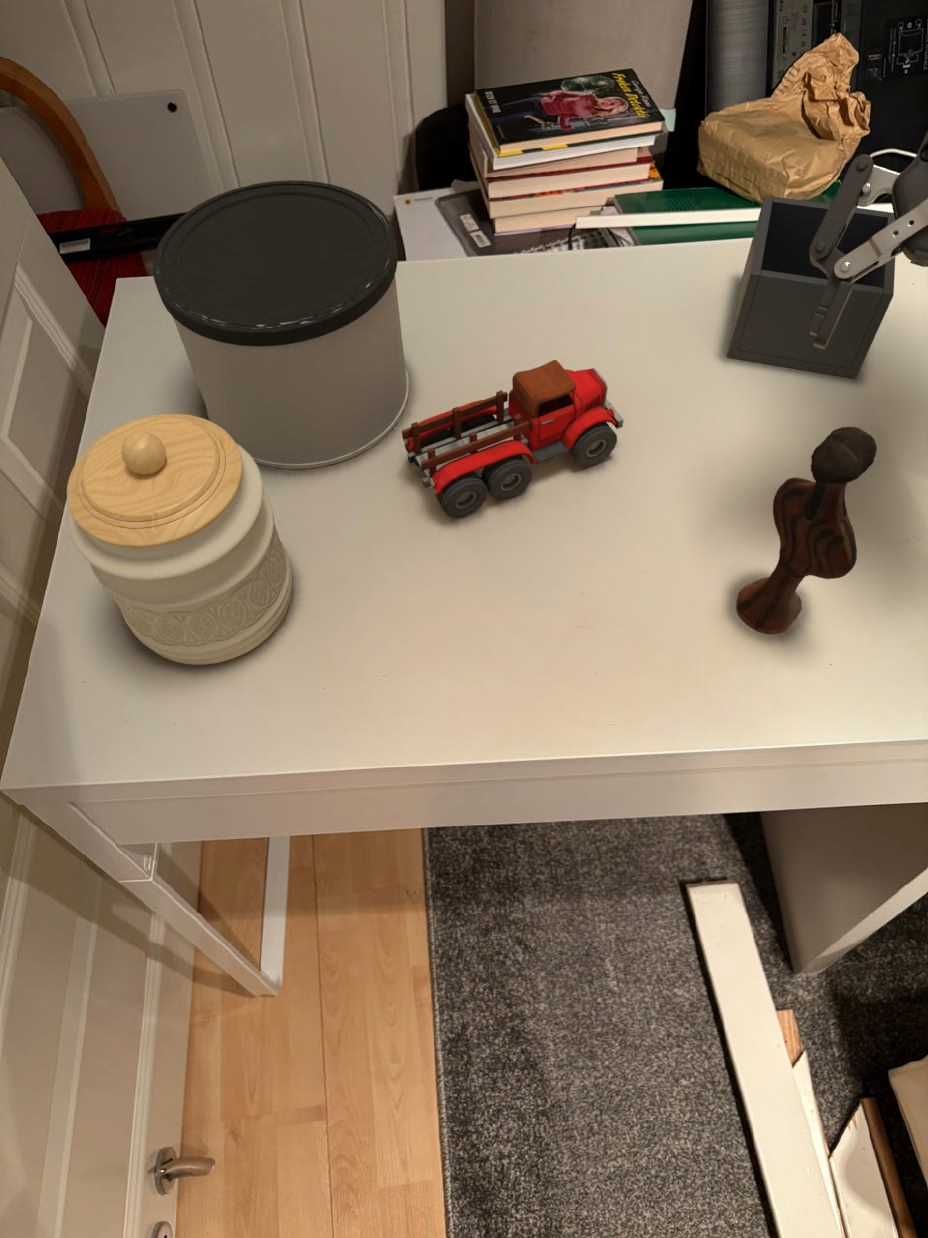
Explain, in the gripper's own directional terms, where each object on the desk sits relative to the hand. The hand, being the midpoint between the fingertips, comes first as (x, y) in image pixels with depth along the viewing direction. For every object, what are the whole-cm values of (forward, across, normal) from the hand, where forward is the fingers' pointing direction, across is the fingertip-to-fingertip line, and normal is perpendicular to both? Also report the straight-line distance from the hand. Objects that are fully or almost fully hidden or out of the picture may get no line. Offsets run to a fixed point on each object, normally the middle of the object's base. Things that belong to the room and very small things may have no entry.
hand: (889, 369), depth 53 cm
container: (+16, -45, +12) cm, 49 cm away
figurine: (+18, 0, +10) cm, 20 cm away
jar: (+32, -38, -4) cm, 50 cm away
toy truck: (+15, -25, +13) cm, 32 cm away
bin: (-5, -9, +33) cm, 34 cm away
